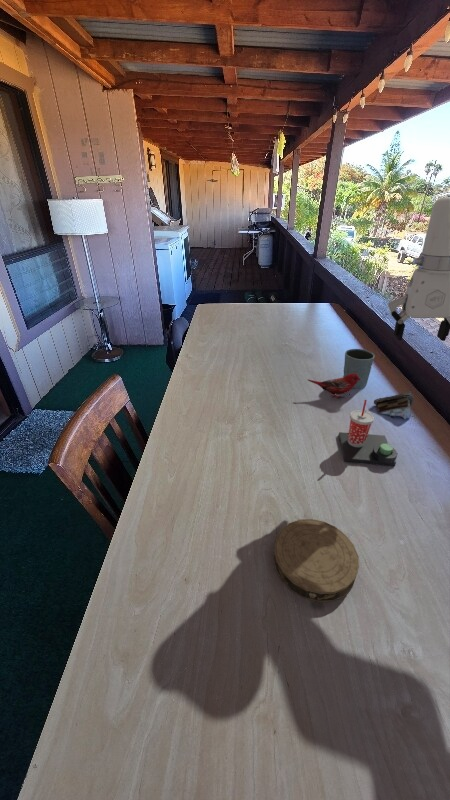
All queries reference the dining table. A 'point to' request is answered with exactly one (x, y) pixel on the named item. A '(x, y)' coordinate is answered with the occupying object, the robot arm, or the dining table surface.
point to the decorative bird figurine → (339, 384)
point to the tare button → (385, 449)
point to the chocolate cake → (396, 405)
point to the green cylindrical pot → (358, 365)
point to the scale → (367, 451)
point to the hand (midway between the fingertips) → (419, 338)
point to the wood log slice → (315, 560)
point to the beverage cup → (359, 427)
